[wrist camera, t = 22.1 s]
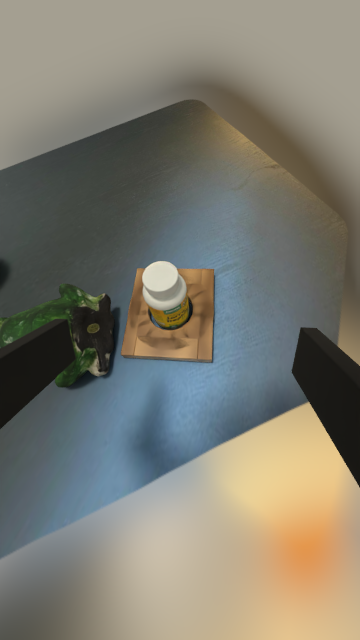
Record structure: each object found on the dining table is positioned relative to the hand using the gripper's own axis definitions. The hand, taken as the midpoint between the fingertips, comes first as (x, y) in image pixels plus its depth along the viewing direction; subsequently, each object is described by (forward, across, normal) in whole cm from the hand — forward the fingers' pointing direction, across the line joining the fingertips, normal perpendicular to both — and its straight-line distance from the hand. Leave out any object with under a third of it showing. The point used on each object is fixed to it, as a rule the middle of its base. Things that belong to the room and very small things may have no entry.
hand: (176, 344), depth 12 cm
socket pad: (+19, -4, -5) cm, 20 cm away
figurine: (+16, -19, -9) cm, 26 cm away
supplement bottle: (+19, -4, -5) cm, 20 cm away
